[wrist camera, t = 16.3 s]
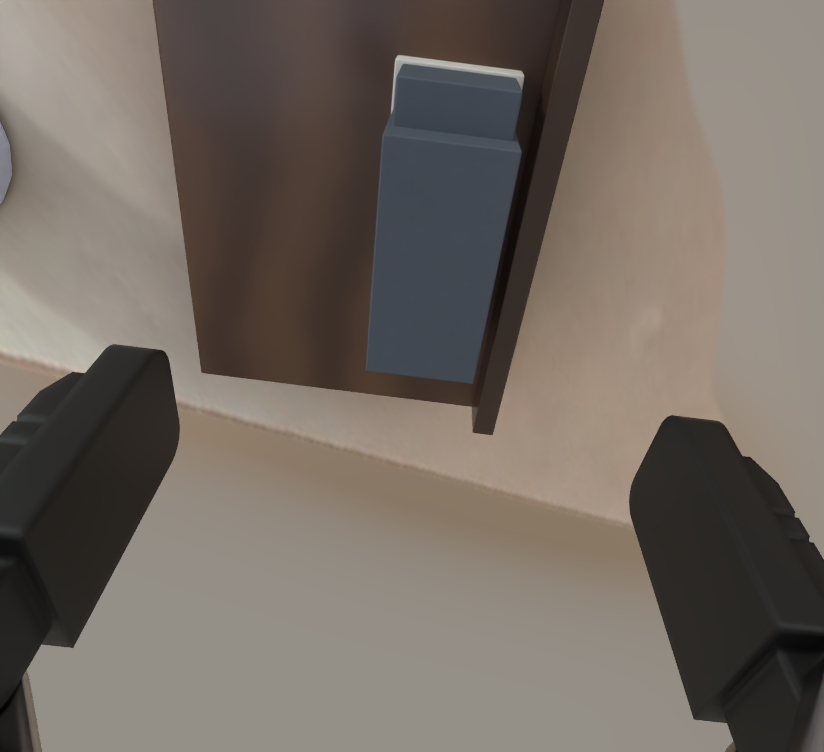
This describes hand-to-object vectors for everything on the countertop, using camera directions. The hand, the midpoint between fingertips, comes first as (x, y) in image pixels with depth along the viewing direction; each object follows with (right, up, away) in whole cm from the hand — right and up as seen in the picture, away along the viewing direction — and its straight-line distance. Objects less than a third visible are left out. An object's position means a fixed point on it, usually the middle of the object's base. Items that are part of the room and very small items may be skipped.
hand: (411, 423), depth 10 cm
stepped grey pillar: (+1, +8, +14) cm, 16 cm away
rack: (-2, +11, +18) cm, 22 cm away
